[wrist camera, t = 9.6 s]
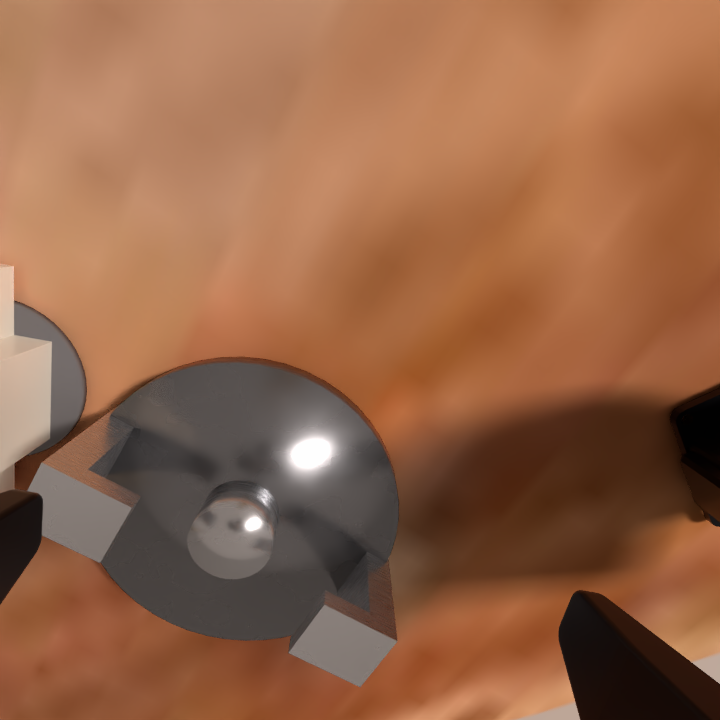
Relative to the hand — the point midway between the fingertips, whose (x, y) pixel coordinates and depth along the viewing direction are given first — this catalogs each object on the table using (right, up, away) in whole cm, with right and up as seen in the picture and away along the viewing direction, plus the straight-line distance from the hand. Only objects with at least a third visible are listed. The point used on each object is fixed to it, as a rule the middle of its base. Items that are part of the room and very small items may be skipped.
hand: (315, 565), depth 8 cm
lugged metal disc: (-5, -3, +14) cm, 15 cm away
